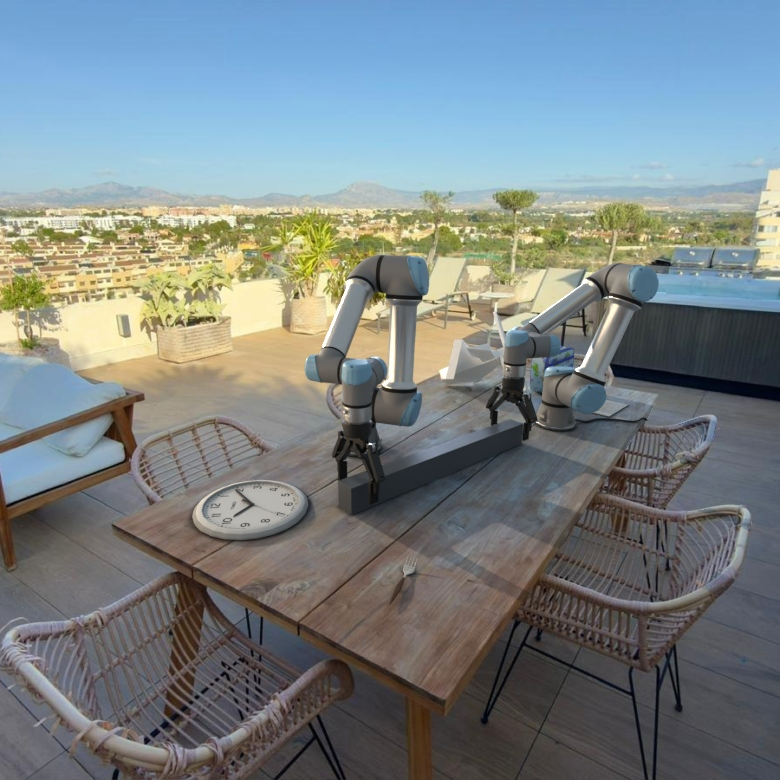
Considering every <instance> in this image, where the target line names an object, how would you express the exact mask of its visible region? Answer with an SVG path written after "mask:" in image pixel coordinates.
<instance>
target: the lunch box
mask: <svg viewBox="0 0 780 780" xmlns="http://www.w3.org/2000/svg"><path fill="white" fill-rule="evenodd" d="M574 363H575V348H573V347H571V346H570V347H568V346H563V345H561V350H560V353H559V354H558V355H557V356H554V357H549V358H547V357H546V358H531V363H530V374H529V391H532V392H536V393H540V394H542V392H543V382H544V374H545V370H546V369H547V368H549V367H556V366H563V367H573V368H574Z"/></svg>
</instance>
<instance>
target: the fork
mask: <svg viewBox="0 0 780 780" xmlns="http://www.w3.org/2000/svg"><path fill="white" fill-rule="evenodd" d="M415 556H416V555H414V556H413V554H411V555H410V554H408V555H407V558H406V560H405V563H404V565H403V568H402V572H403V576H402V578H401V579H400V581H398V583H397V584H396V586H395V588H394V591H393V593H392V596H391V598H390V600H389V603H388V605H389V606H391V605H392V603H393V602H394V600H395V599H396V597H397V596H398V594H399V593H400V592H401V590H402V588H403V585H404V583H405V580H406V577H407V576H409V575H411V574H413V573H415V571H416V567H417V562H418V559H419V556H416V557H415ZM409 557H410V558H409ZM412 557H413V560H412ZM415 558H416V559H415ZM411 561H412V562H411ZM414 562H415V563H414Z"/></svg>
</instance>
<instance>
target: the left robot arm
mask: <svg viewBox="0 0 780 780" xmlns="http://www.w3.org/2000/svg"><path fill="white" fill-rule="evenodd" d="M429 288H430V275H429V268H428V264H427V262H426V260H425V259H424V258H423V257H421V256H414V255H395V254H393V255H390V254H389V255H387V254H373V255H371V256H369V257H367V258H365V259H363V260H361V262H359V263H358V264H357V265H356V266H355V267H354V268H353V269H352V270H351V271H350V273H349V274H348V276H347V277H346V279H345V281H344V284H343V290H344V293H343V295H342V297H341V300H340V303H339V305H338V307H337V309H336V312H335V314H334V317H333V319H332V321H331V324H330V326H329V328H328V331H327V333H326V336H325V338H324V340H323V343H322V346H321V348H320V350H319V352H318V354H317V353H314V354H309V356H307V357H306V359H305V362H304V374H305V377H306V379H308V380H309V381H311V382H316V383H320V384H323V383H324V384H333V385H335V384H336V385H341V397H340V402H341V403H340V404H341V405H340V407H341V408H340V409H341V410H340V411H341V428H340V430H338V431H337V439H336V442H335V444H334V447H333V450H332V453H331V458H332V459H335V462H336V471H337V482H338V481H339V480H342V479H344V478H347V477H348V461H347V459H348V457H354V458H358V459H359V460H361V462H362V464H363V467H364V469H365V471H367V473H368V475H369V478H370V480H371V481H369V504H370V505H371V504H374V503H376V502H378V492H379V487H380V482H382V481H385V480H386V478H385V475H384V471H383V468H382V465H383V464H382V461H381V457H380V454H379V452H380V451H381V449H382V442H383V438H380V436H379V432H378V429H377V424H383V425H391V426H398V427H407V428H408V427H412V426H414V425H415V424H416V422H417V421H418V418H419V415H420V412H421V409H422V404H423V394H422V392H420V391H418V385H417V383H415V381H414V367H415V353H416V351H415V350H416V335H417V334H416V331H417V316H418V315H417V314H418V306H419V305H420V304H421V303H423V298H424V296H427V295H428V294H429V290H430V289H429ZM378 293H380V294H385V300H386V302H387V303H388V304H389V319H388V337H387V338H388V340H387V341H388V342H387V363H386V362H385V361H384V359H382V358H381V357H380V356H379V357H378V356H369V357H367V358H355V357H347V355H348V353H349V350H350V348H351V345H352V342H353V340H354V337H355V335H356V332H357V330H358V327H359V325H360V322H361V320H362V317H363V314H364V312H365V309H366V306H367V304H368V302H369V301H372V299H373V297H374V295H375V294H378ZM379 385H381V386H380V387H378V386H379Z"/></svg>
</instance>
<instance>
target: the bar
mask: <svg viewBox="0 0 780 780" xmlns="http://www.w3.org/2000/svg"><path fill="white" fill-rule="evenodd" d="M523 425H524V422H520V421H518V420H514V419H511V418H508V419H506V420H504V421H500V422H497V424H495V425H492V426H491V425H490V426H487V427H483V428H481V429H478V430H475V431H473V432H470V433H466V434H464V435H461V436H459V437H456V438H453V439H450V440H448V441H445V442H442V443H439V444H437V445H434V446H430V447H428V448H425V449H423V450H420V451H417V452H414V453H412V454H409V455H406V456H402V457H400V458H398V459H395V460H392V461H389V462H387V463H383V464H382V468H383V471H384V475H385V478H386V480H385V481H382V482H380V487H379V492H378V502H376V503H374V504H371V505H370V504H369V481H371V480H370V478H369V475H368V473H367V471H366V470H364V471H362V472H359V473H356V474H353V475H350V476H347V478H344V479H342V480H339V481H338V480H337V488H338V489H337V490H338V491H337V492H338V494H337V495H338V497H337V498H338V502H337V503H338V507H339V508H340V509H342V510H343V511H345V512H346V513H347V514H349V515H351V516H353V515H355V514H357V513H359V512H361V511H364V510H367V509H370V508H371V507H374V506H376V505H379V504H381V503H383V502H386V501H388V500H391V499H393V498H395V497H398V496H400V495H402V494H405V493H408V492H411V491H413V490H415V489H417V488H420V487H422V486H424V485H427V484H429V483H431V482H434V481H437V480H438V479H441V478H443V477H446V476H448V475H451V474H452V473H456V472H457V471H460V470H463V469H465V468H467V467H470V466H472V465H474V464H476V463H477V464H478V463H479V462H482V461H483V460H487V459H489V458H491V457H493V456H496V455H498V454H501V453H503V452H505V451H508V450H510V449H512V448H515V447H518V446H520V445H522V436H523Z"/></svg>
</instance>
